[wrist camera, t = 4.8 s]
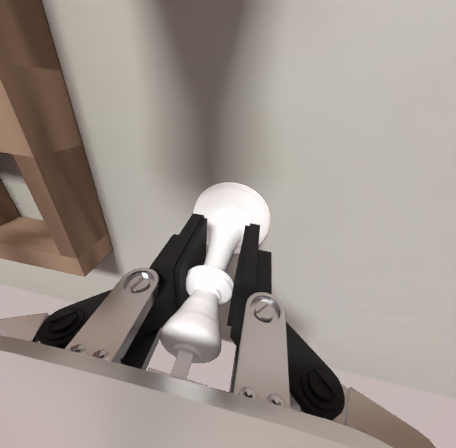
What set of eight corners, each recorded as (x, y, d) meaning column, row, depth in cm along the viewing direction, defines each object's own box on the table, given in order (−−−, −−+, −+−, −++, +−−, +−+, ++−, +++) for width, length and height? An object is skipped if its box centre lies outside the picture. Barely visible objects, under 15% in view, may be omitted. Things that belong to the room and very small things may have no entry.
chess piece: (199, 172, 12) (24, 354, 3) (281, 194, 12) (307, 444, 3) (191, 237, 14) (82, 426, 6) (257, 256, 14) (238, 478, 6)
